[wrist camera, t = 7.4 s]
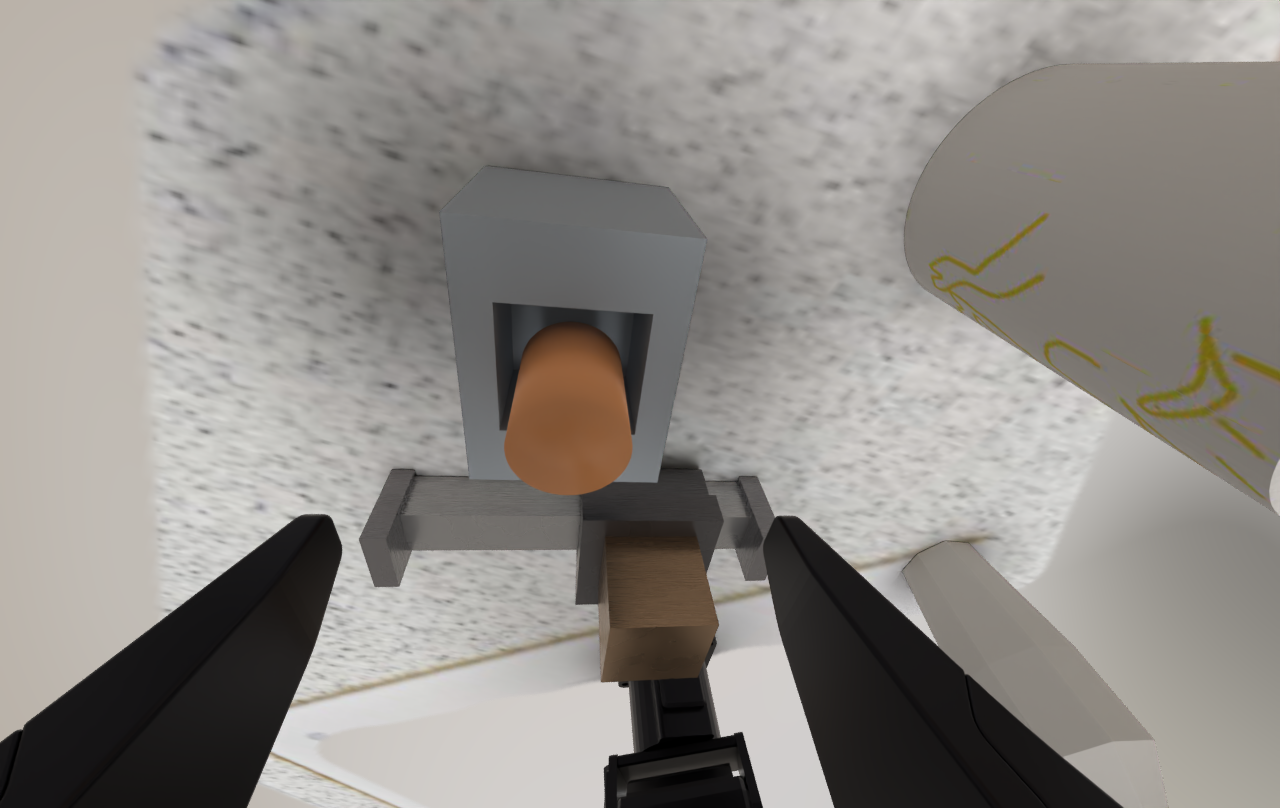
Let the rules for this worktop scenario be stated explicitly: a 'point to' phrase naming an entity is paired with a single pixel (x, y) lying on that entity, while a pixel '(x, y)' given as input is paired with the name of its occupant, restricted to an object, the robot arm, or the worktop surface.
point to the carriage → (650, 574)
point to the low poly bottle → (1034, 672)
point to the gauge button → (569, 412)
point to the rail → (522, 520)
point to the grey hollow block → (567, 295)
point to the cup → (1126, 245)
